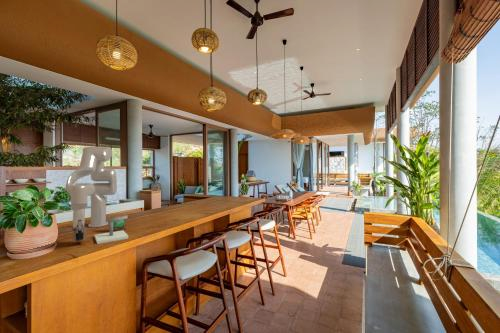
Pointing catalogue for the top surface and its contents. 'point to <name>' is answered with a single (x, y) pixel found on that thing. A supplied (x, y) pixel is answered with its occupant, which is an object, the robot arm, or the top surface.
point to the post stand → (110, 235)
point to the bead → (76, 232)
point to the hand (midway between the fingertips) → (79, 237)
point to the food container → (118, 222)
